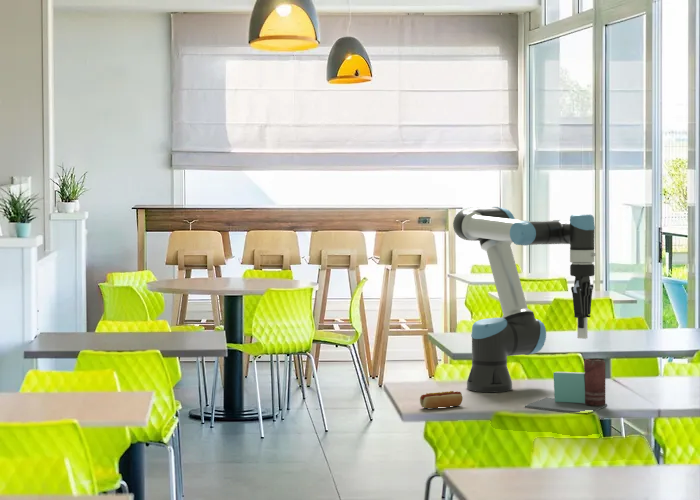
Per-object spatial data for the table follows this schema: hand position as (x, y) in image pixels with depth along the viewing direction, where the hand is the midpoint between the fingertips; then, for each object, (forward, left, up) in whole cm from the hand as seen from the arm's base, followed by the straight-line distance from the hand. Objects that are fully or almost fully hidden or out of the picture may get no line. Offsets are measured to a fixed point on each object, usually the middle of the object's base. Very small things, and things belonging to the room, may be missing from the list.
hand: (582, 338), depth 336 cm
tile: (0, -9, -19) cm, 21 cm away
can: (+8, -9, -19) cm, 23 cm away
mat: (0, -13, -20) cm, 24 cm away
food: (-32, -34, -20) cm, 51 cm away
